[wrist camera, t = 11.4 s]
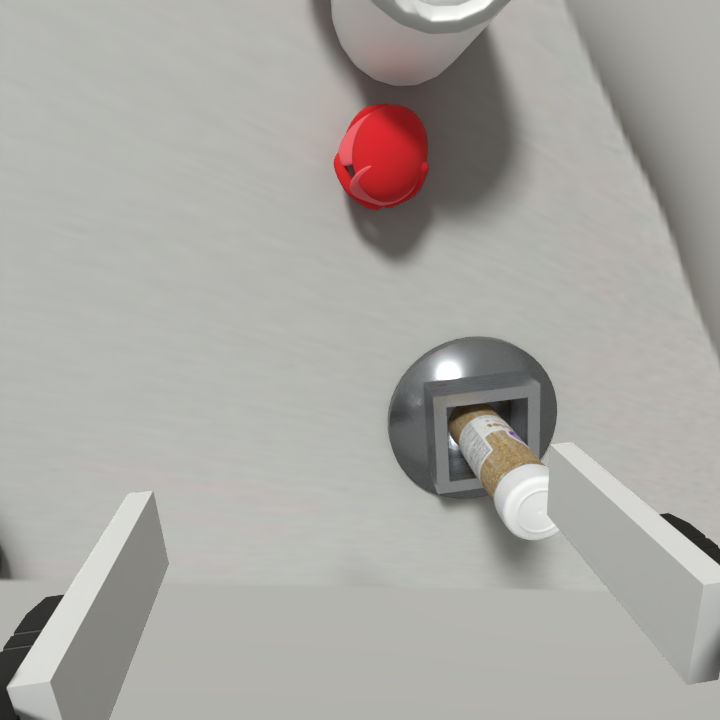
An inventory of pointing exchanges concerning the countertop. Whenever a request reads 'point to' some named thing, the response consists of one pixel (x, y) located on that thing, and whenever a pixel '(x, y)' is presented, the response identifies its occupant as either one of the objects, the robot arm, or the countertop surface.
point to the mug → (409, 34)
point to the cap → (383, 156)
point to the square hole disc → (465, 387)
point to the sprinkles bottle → (504, 469)
